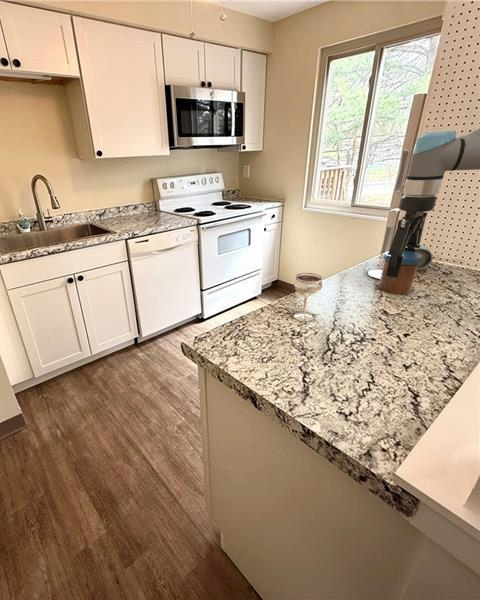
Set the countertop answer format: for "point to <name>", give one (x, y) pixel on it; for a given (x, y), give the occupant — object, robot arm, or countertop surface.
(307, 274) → the wineglass
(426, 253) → the ceramic mug
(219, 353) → the countertop surface
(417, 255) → the jar lid
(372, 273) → the coaster
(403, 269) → the jam jar
